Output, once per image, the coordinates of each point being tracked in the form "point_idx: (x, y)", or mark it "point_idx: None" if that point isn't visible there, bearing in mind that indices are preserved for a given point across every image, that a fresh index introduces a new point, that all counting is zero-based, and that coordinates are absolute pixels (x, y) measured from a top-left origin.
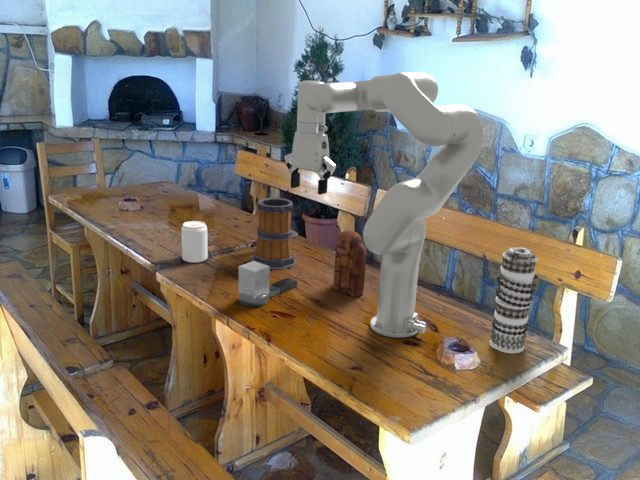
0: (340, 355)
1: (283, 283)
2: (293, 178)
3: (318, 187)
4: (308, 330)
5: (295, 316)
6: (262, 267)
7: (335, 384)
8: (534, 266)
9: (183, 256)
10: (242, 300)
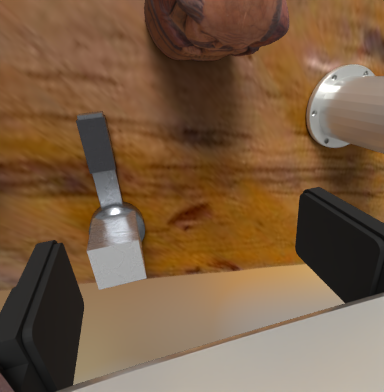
0: None
1: (102, 153)
2: (73, 368)
3: (328, 281)
4: (252, 215)
5: (208, 203)
6: (135, 255)
7: None
8: None
9: None
10: None
